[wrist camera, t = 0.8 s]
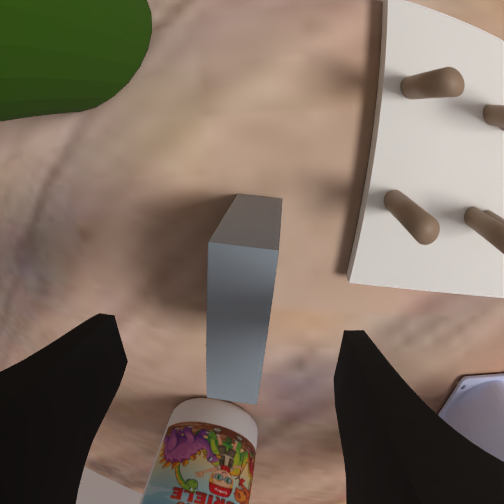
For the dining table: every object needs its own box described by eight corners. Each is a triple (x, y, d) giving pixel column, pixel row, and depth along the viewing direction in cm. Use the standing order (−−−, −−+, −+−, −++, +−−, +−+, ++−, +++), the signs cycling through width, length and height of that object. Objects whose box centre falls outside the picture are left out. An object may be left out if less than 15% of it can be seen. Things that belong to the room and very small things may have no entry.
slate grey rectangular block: (266, 320, 21) (256, 404, 14) (229, 316, 21) (206, 397, 14) (282, 198, 17) (278, 250, 11) (238, 193, 17) (208, 241, 11)
